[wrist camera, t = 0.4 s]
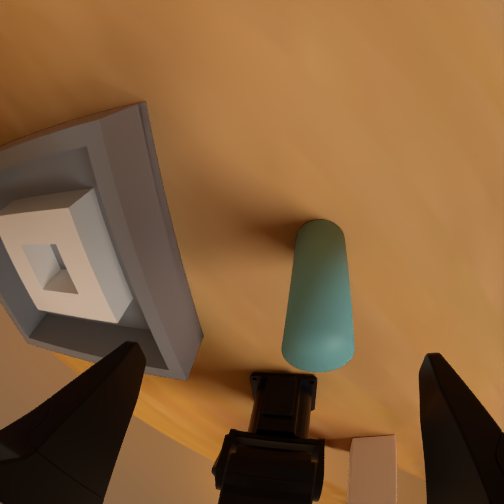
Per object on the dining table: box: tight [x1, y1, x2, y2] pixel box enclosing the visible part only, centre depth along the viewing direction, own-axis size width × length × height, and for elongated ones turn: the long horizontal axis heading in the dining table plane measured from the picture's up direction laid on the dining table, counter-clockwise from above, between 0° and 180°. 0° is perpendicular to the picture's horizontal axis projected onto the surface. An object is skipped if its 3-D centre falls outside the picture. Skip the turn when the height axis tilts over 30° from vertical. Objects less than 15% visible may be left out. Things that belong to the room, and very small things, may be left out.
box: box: [0, 101, 203, 381], centre depth 23 cm, size 20×20×5 cm
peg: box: [282, 219, 354, 372], centre depth 17 cm, size 3×3×9 cm
